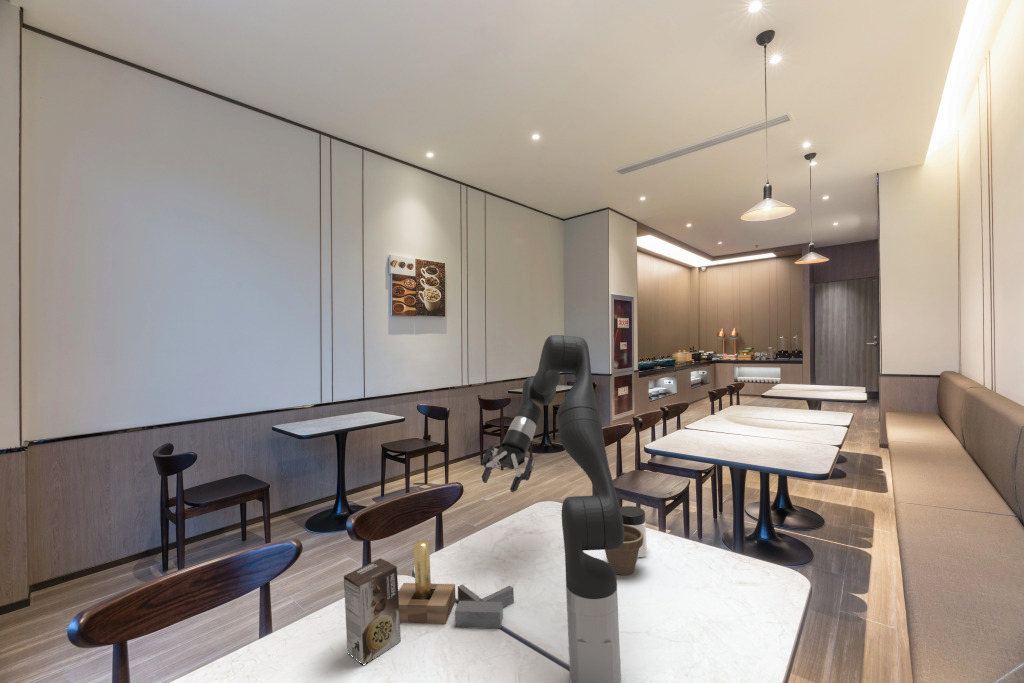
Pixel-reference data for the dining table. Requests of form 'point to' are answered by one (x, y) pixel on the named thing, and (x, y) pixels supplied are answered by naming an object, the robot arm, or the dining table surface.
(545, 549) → the dining table surface
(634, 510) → the jar
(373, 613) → the coffee box
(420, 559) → the axle
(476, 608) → the v block
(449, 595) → the hollow rectangular block
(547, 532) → the dining table surface
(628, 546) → the flower pot
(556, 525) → the dining table surface
